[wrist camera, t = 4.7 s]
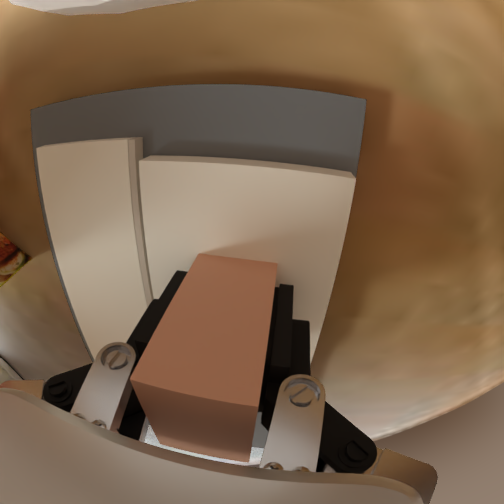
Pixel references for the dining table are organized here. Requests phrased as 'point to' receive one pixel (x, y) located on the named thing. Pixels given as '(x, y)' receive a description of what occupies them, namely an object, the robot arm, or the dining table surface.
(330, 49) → the dining table surface
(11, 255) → the food package
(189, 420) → the cream and peach block
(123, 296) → the mat
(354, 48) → the dining table surface
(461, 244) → the dining table surface
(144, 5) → the plate
